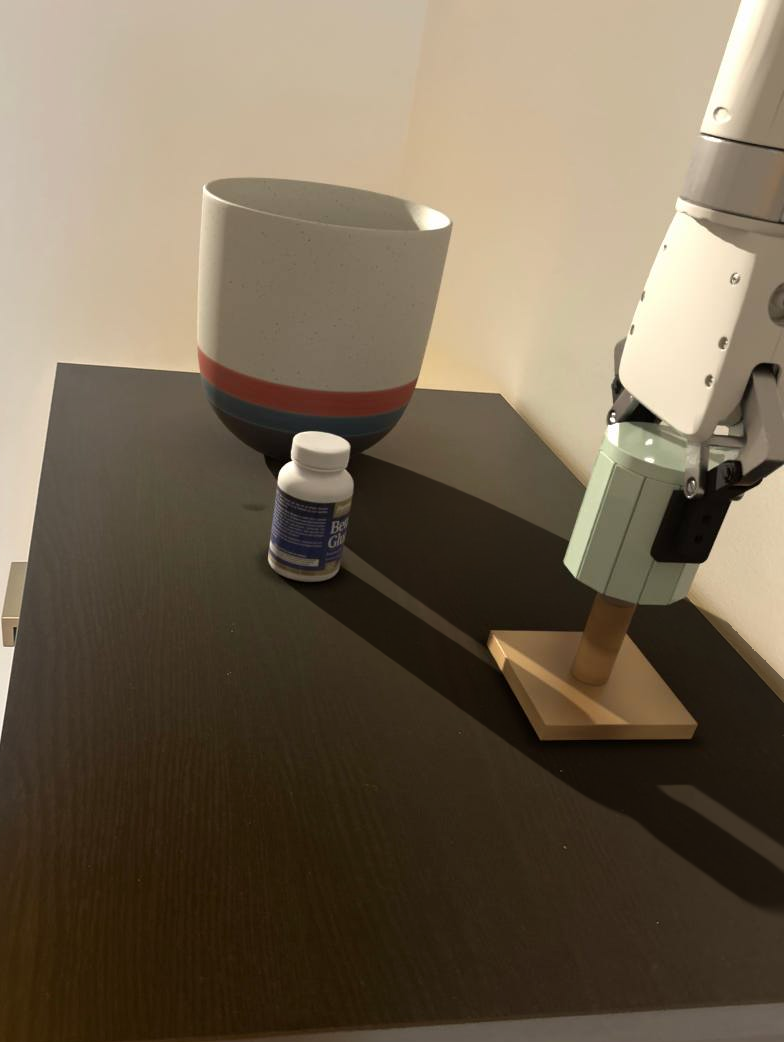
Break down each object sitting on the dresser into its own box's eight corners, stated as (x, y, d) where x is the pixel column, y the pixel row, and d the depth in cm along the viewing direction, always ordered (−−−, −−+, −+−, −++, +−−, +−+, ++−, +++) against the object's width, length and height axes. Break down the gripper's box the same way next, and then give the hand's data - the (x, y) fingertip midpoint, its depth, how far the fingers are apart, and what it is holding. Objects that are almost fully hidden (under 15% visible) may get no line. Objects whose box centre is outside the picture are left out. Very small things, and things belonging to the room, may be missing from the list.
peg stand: (620, 646, 65) (653, 559, 62) (691, 739, 57) (734, 645, 54) (486, 644, 63) (511, 554, 60) (540, 740, 55) (574, 643, 51)
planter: (376, 415, 98) (415, 193, 86) (430, 502, 82) (487, 242, 70) (181, 403, 94) (194, 167, 82) (196, 492, 77) (215, 213, 66)
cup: (651, 545, 59) (697, 425, 55) (709, 606, 53) (765, 477, 49) (546, 541, 58) (584, 417, 53) (594, 603, 52) (641, 470, 48)
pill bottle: (334, 590, 67) (356, 463, 61) (261, 576, 67) (276, 448, 62) (343, 556, 71) (364, 435, 66) (274, 543, 72) (290, 421, 66)
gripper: (967, 239, 38) (787, 608, 48) (737, 171, 52) (634, 467, 62) (807, 218, 36) (654, 605, 46) (614, 154, 50) (528, 460, 60)
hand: (643, 524), depth 54 cm, fingers closed on cup, 7 cm apart
